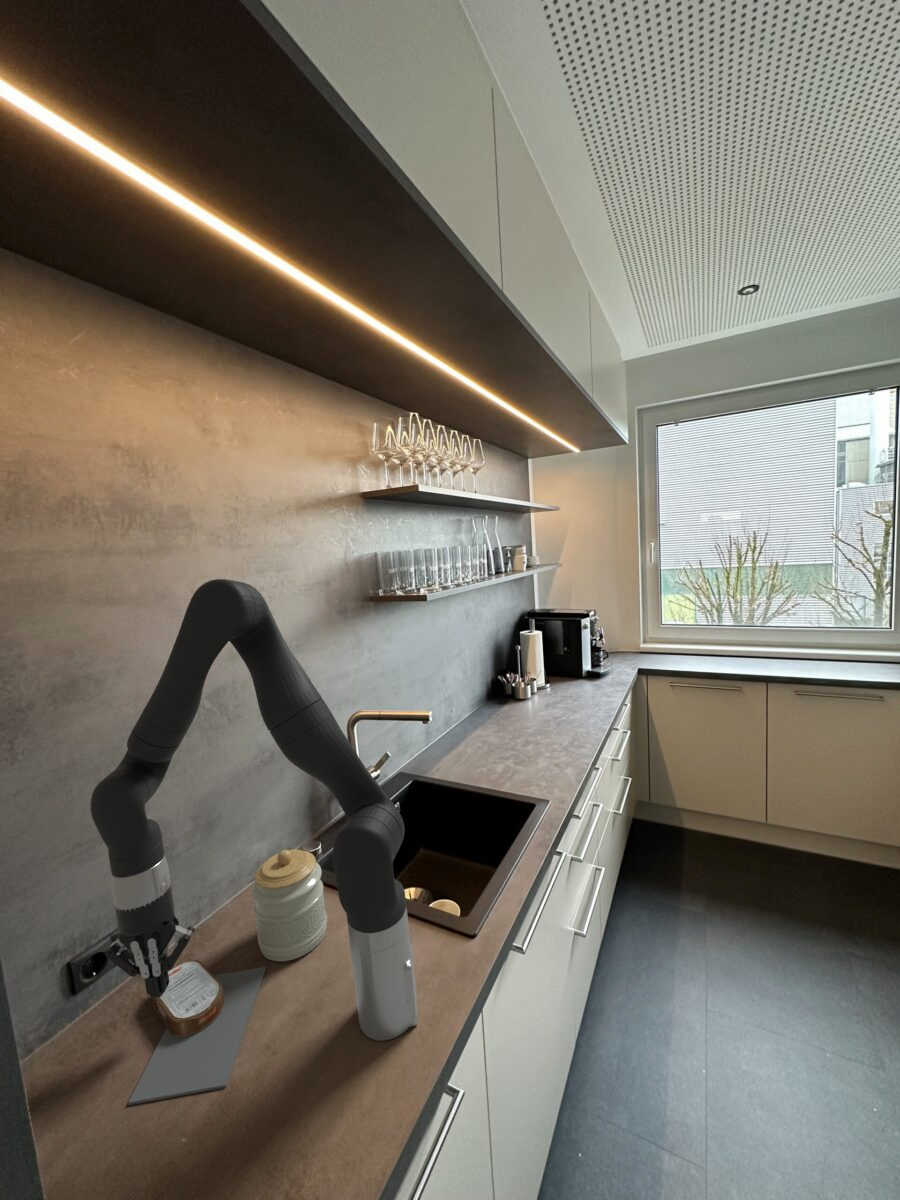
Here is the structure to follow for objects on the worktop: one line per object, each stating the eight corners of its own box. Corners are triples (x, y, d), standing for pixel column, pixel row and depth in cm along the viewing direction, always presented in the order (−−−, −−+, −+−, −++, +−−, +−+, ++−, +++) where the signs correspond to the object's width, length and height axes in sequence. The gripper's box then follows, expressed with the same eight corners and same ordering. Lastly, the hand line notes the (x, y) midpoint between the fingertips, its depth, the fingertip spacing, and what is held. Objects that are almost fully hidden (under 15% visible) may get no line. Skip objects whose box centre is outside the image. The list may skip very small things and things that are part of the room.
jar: (303, 969, 87) (292, 876, 85) (244, 958, 90) (232, 869, 89) (340, 916, 99) (330, 834, 98) (286, 908, 103) (276, 829, 101)
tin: (180, 1047, 73) (234, 1009, 80) (179, 1027, 73) (233, 990, 80) (144, 998, 83) (195, 967, 90) (143, 980, 83) (194, 950, 89)
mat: (266, 968, 87) (265, 966, 87) (225, 1087, 68) (225, 1084, 68) (191, 981, 86) (191, 978, 86) (128, 1105, 66) (128, 1102, 66)
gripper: (197, 869, 80) (211, 966, 81) (112, 881, 78) (128, 980, 80) (175, 900, 72) (191, 1007, 74) (82, 914, 71) (100, 1023, 72)
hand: (158, 993), depth 77 cm, fingers closed
